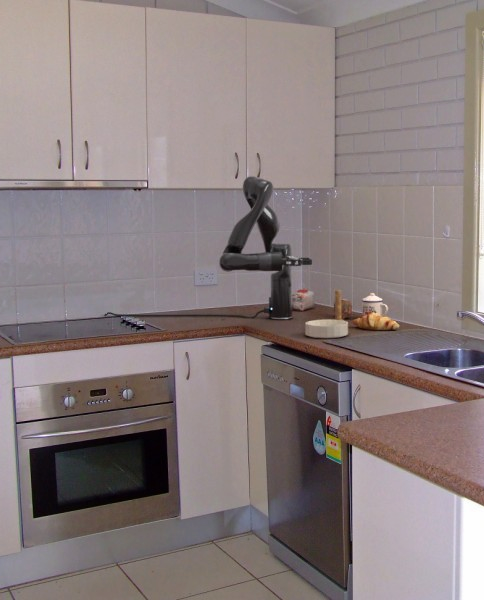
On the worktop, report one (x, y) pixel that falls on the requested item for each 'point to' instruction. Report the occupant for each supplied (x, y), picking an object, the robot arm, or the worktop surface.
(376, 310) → the teacup with lid
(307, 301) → the food item
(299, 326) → the worktop surface
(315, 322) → the bowl
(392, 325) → the croissant
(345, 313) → the tin
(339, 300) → the wooden pestle
